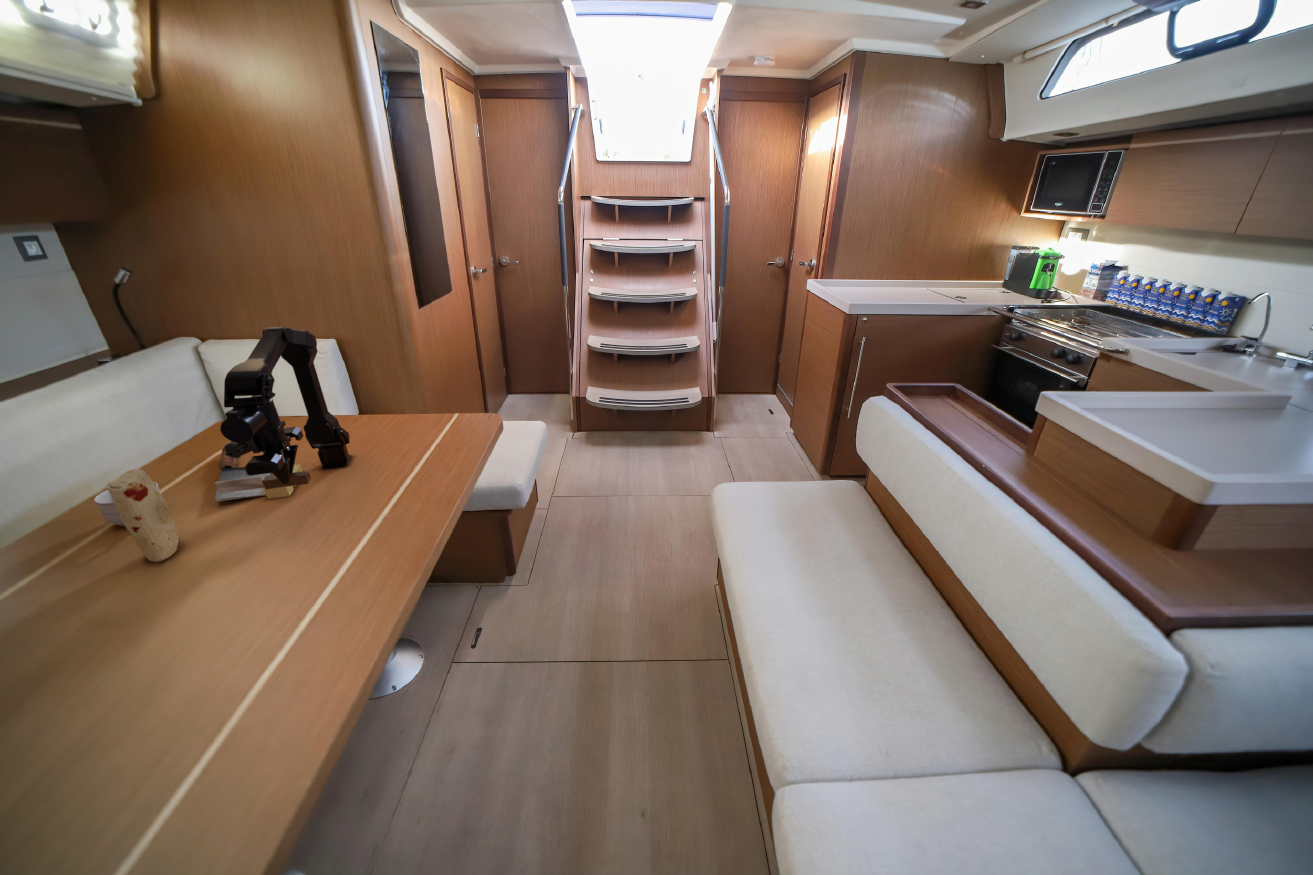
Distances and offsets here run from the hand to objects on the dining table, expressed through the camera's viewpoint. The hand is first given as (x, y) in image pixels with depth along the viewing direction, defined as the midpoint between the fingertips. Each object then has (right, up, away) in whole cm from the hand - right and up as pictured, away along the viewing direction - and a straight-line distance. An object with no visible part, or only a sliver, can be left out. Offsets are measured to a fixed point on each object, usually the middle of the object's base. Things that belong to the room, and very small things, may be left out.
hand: (287, 480), depth 121 cm
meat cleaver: (-27, 0, +21) cm, 35 cm away
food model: (-20, -15, -10) cm, 27 cm away
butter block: (-12, -2, +18) cm, 22 cm away
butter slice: (-11, -5, +12) cm, 17 cm away
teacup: (-36, -10, +1) cm, 37 cm away
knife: (-5, -2, -1) cm, 5 cm away
